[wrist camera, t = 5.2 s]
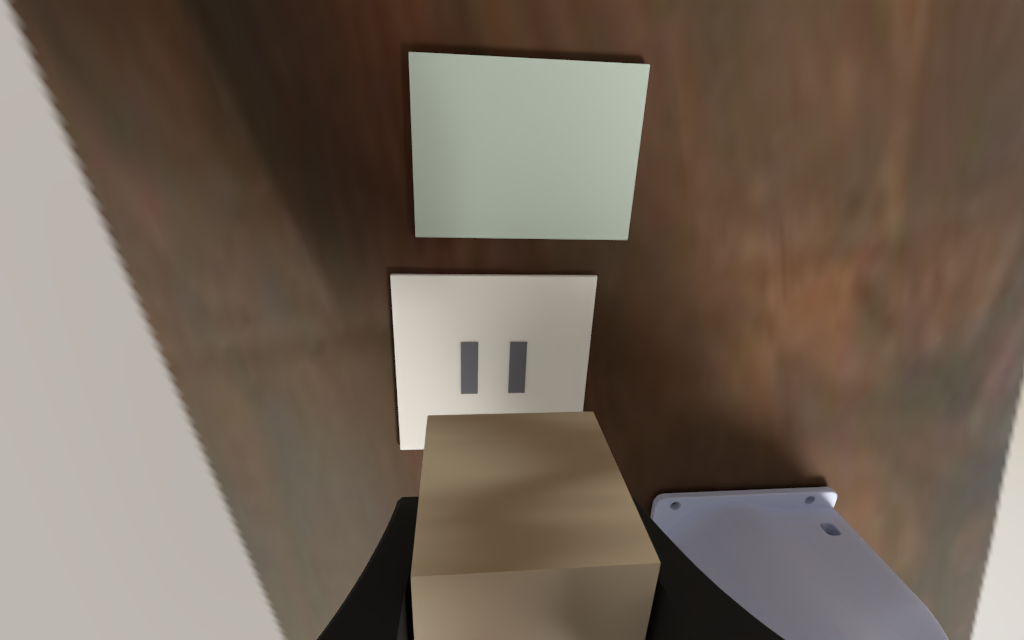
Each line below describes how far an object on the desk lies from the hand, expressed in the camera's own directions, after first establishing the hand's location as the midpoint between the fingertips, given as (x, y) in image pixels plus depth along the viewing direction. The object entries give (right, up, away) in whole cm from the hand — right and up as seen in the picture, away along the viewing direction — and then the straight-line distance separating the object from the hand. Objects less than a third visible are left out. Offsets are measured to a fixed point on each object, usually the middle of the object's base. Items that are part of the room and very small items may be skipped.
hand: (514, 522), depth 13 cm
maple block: (0, +1, +1) cm, 2 cm away
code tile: (-1, +3, +8) cm, 9 cm away
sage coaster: (0, +11, +5) cm, 12 cm away
